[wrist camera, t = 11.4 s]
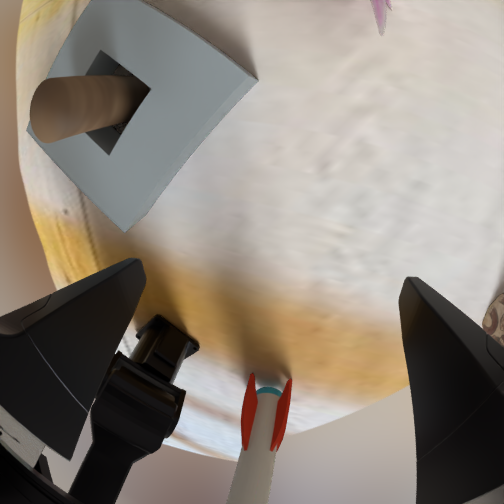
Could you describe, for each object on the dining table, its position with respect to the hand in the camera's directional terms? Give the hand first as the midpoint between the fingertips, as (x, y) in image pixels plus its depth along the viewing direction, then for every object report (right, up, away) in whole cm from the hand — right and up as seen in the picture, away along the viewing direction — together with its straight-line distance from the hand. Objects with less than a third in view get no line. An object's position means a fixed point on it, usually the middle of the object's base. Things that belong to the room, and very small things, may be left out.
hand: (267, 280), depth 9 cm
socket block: (-10, +13, +10) cm, 19 cm away
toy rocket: (+2, -17, +25) cm, 30 cm away
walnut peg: (-10, +13, +10) cm, 19 cm away
